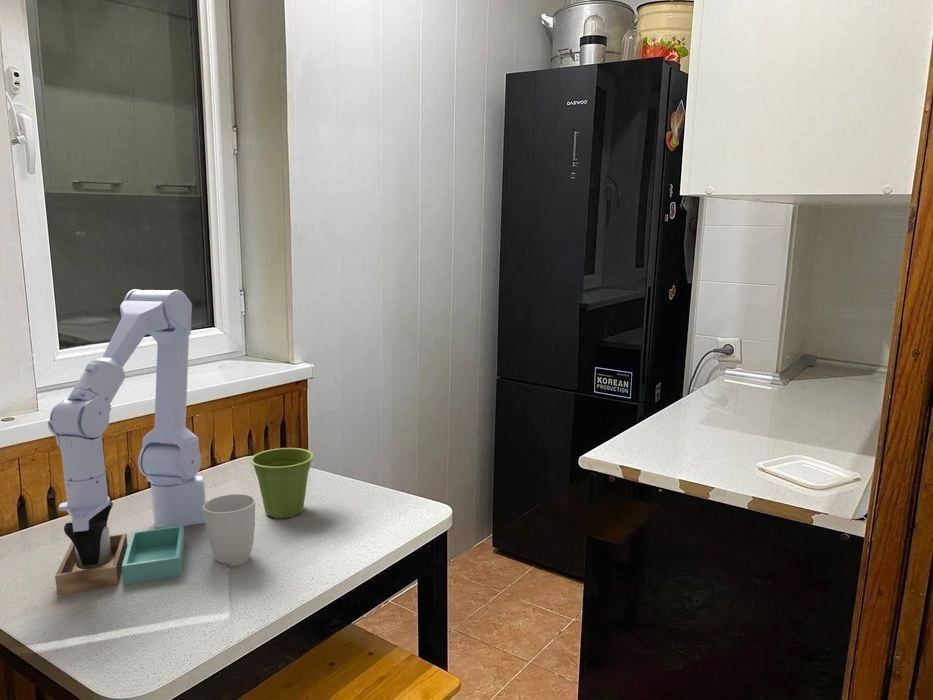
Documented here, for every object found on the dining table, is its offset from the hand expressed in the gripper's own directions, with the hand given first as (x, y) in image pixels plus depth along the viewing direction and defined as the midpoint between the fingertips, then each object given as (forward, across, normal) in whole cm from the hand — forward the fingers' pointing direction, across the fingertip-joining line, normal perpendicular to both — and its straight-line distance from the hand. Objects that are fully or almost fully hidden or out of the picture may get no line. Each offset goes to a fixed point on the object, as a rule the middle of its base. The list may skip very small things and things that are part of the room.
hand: (93, 556), depth 113 cm
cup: (+3, +2, +21) cm, 21 cm away
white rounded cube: (+1, 0, 0) cm, 1 cm away
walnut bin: (+3, 0, 0) cm, 3 cm away
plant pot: (+4, -16, +31) cm, 35 cm away
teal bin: (+3, 0, +9) cm, 10 cm away
